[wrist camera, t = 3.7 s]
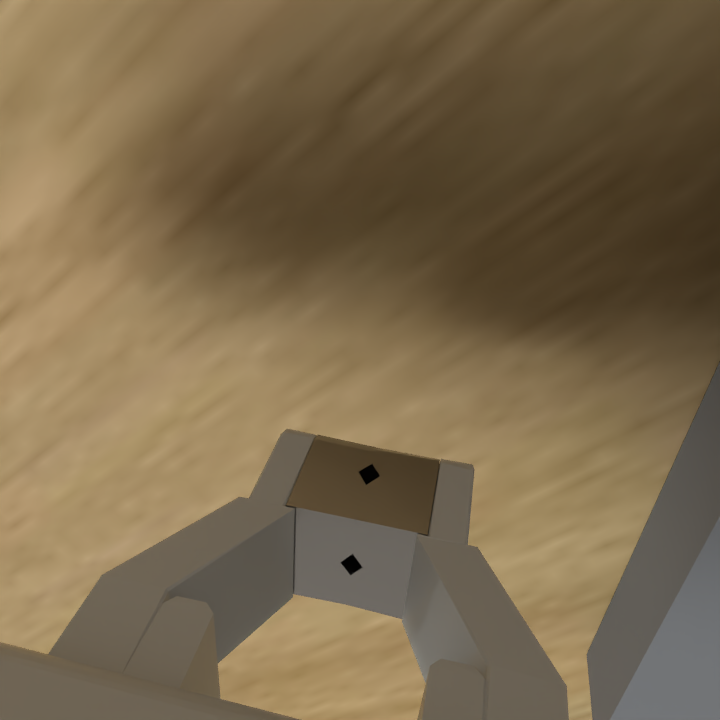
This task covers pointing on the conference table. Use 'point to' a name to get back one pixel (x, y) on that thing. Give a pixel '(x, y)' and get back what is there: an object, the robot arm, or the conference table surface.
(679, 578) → the board
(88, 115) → the conference table surface
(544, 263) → the conference table surface
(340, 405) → the conference table surface
